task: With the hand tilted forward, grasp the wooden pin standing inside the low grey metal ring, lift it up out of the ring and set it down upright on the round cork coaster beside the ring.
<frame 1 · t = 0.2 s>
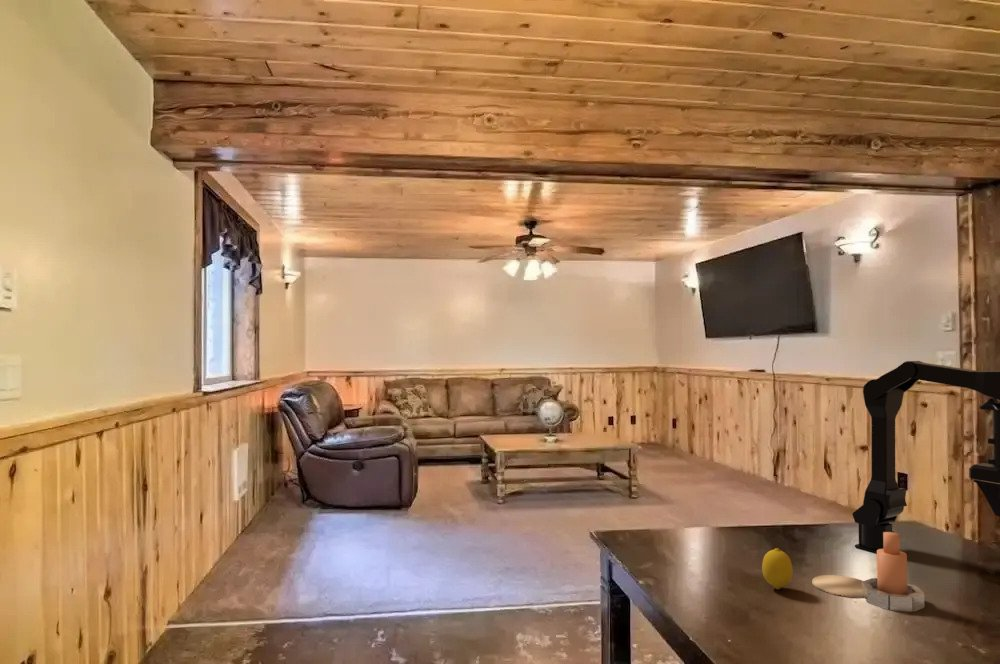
coaster: (843, 586, 130), on the table
ring: (892, 601, 122), on the table
lemon: (777, 590, 129), on the table
pin: (891, 567, 122), in the ring
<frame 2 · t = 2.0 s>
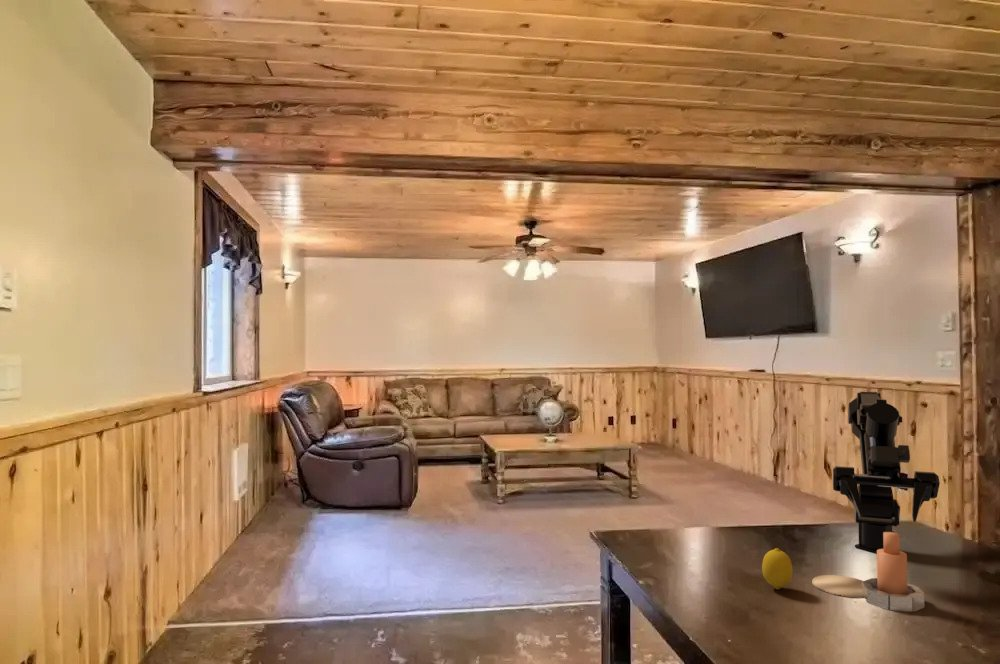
hand: (887, 518, 130), 13 cm above the table, tool tilted 45°, fingers open, 9 cm apart
nothing on the table moved.
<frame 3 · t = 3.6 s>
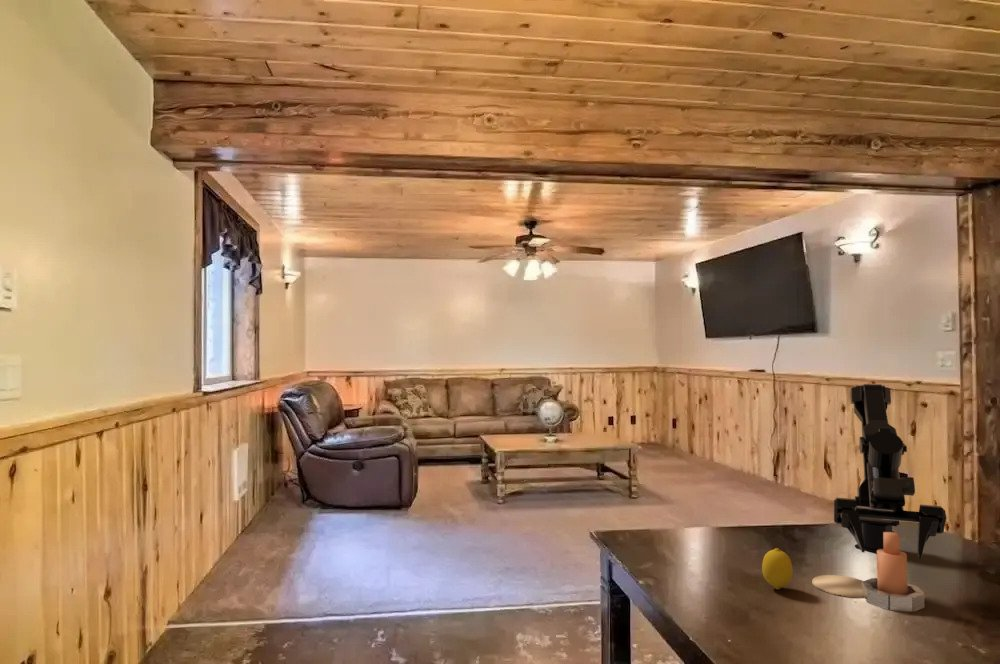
hand: (891, 554, 123), 8 cm above the table, tool tilted 45°, fingers open, 9 cm apart
nothing on the table moved.
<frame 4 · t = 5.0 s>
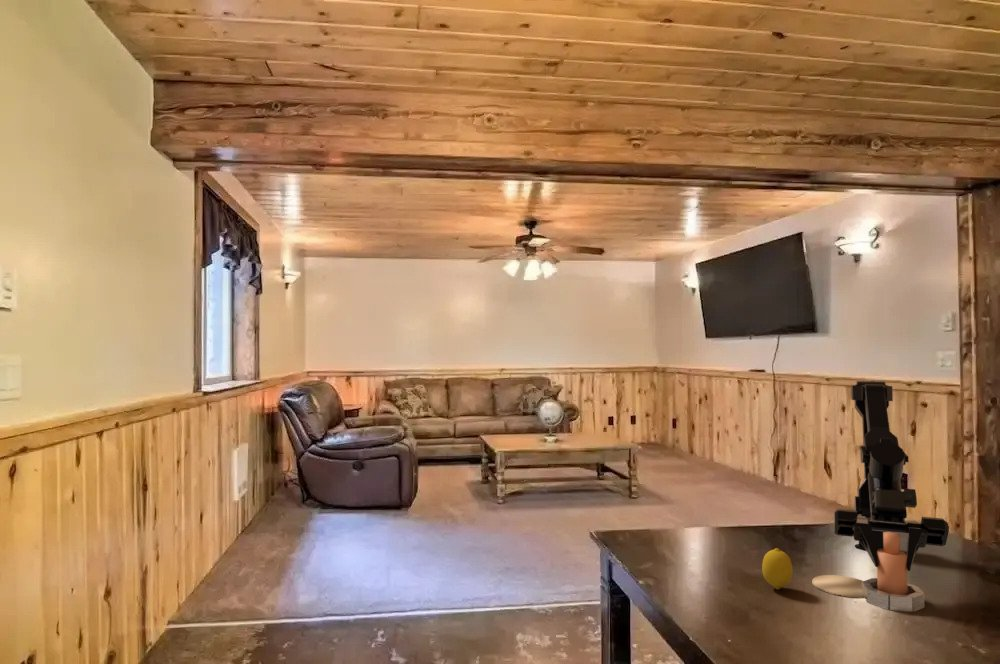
hand: (892, 567, 121), 7 cm above the table, tool tilted 45°, fingers closed on pin, 5 cm apart
pin: (891, 567, 122), in the ring, touching gripper
everything else where it was.
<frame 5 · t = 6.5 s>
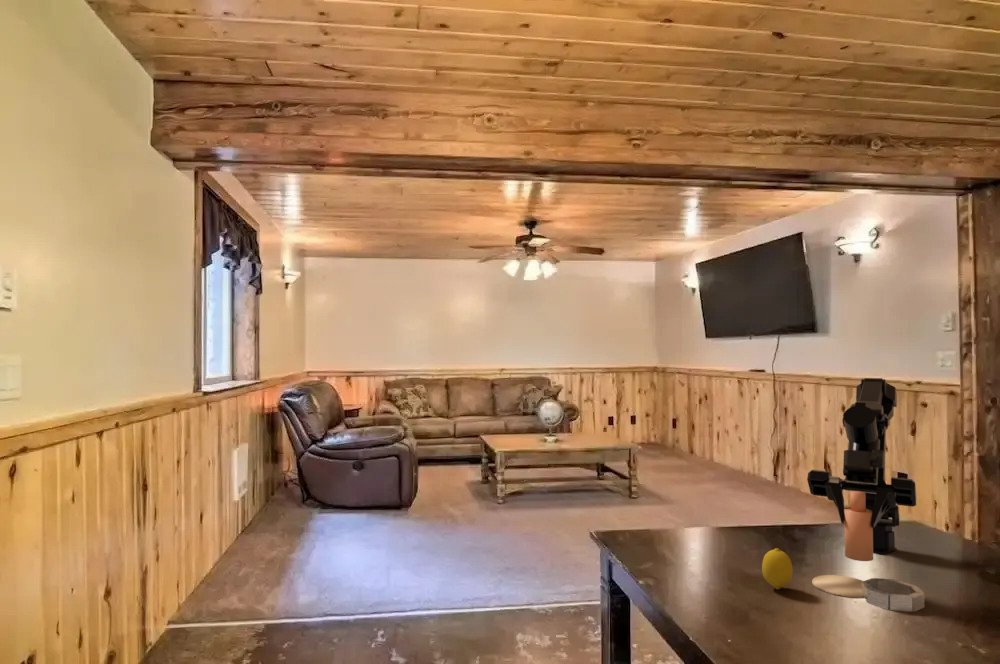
hand: (857, 524, 126), 13 cm above the table, tool tilted 45°, fingers closed on pin, 5 cm apart
pin: (858, 524, 127), point 13 cm above the table, touching gripper
everything else where it was.
when the fingers open (8 cm above the table, at t = 8.2 s): pin stays where it is, resting on coaster.
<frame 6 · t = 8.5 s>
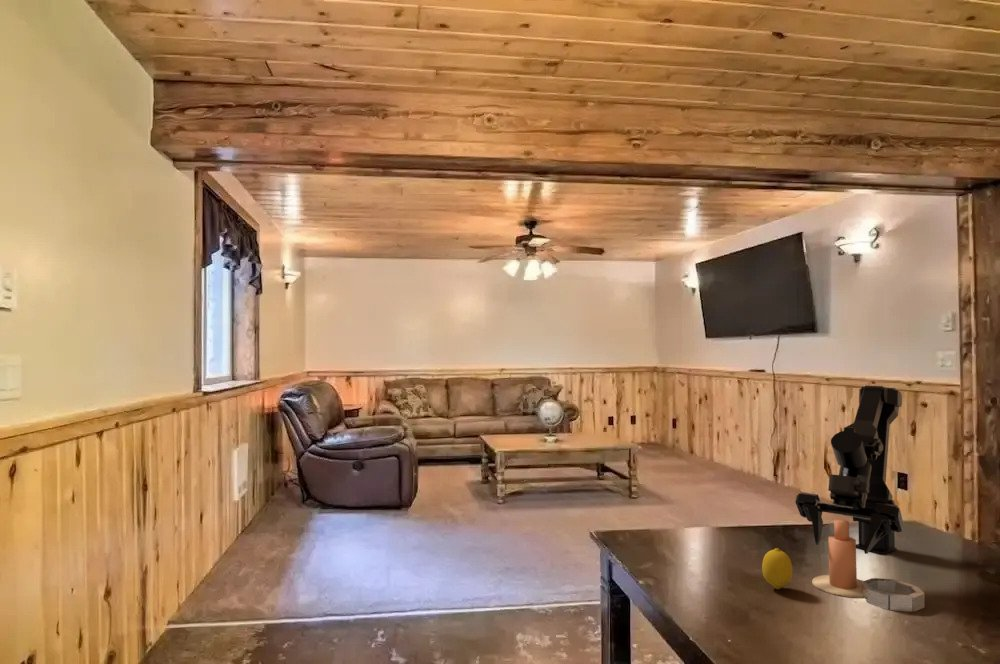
hand: (840, 548, 129), 8 cm above the table, tool tilted 45°, fingers open, 8 cm apart
pin: (842, 552, 130), on the coaster
everything else where it was.
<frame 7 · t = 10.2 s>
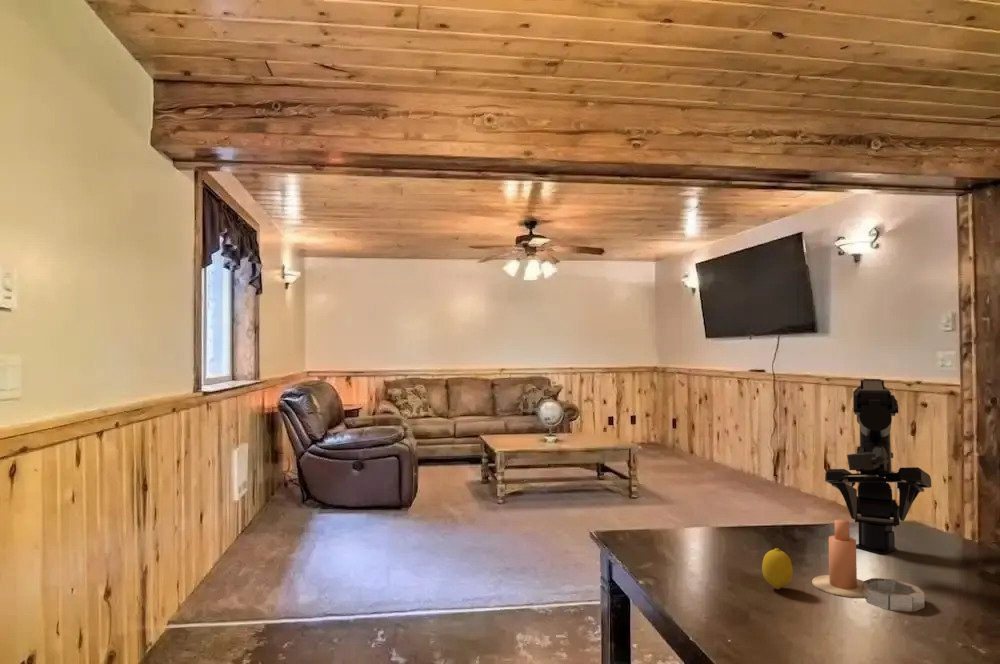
hand: (877, 519, 134), 12 cm above the table, tool tilted 25°, fingers open, 9 cm apart
nothing on the table moved.
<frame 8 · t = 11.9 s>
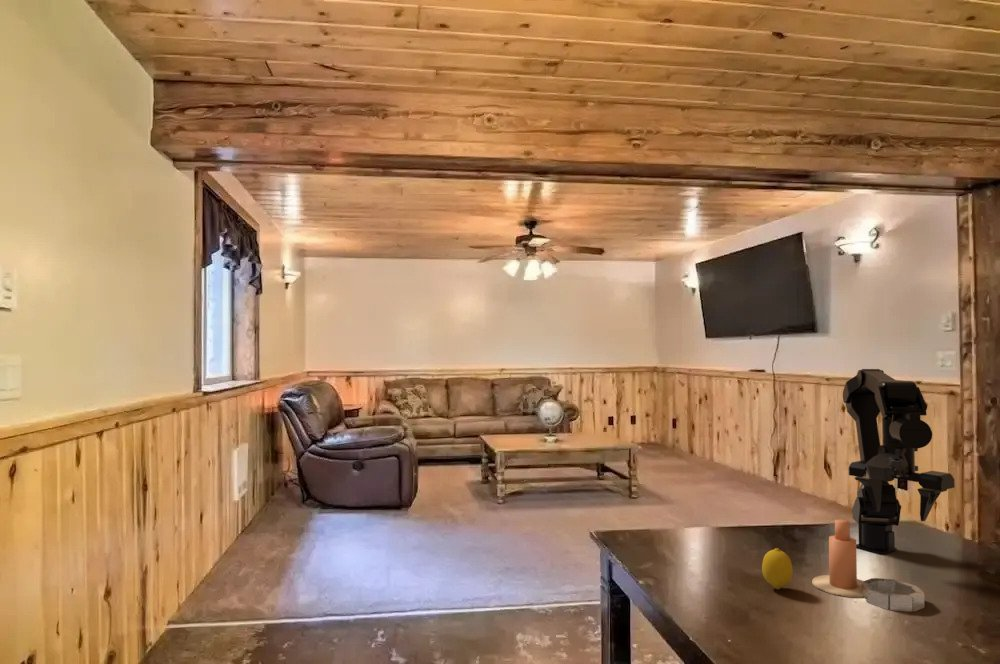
hand: (899, 516, 137), 12 cm above the table, tool pointing down, fingers open, 9 cm apart
nothing on the table moved.
at the end: pin 0.0 cm from the coaster (horizontally); pin tilted 0°; pin resting on coaster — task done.
